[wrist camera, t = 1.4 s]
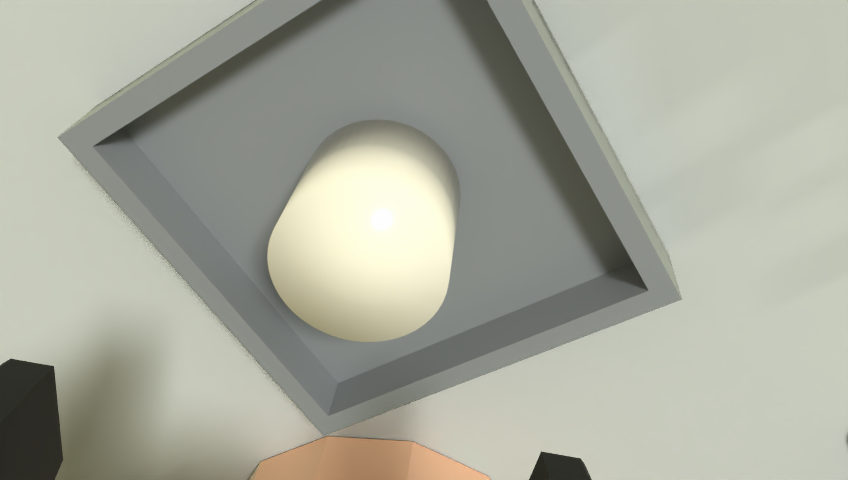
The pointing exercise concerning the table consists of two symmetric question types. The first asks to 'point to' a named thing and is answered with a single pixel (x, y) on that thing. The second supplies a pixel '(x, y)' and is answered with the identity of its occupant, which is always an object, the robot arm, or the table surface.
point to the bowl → (362, 462)
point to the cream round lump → (368, 233)
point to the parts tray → (401, 102)
